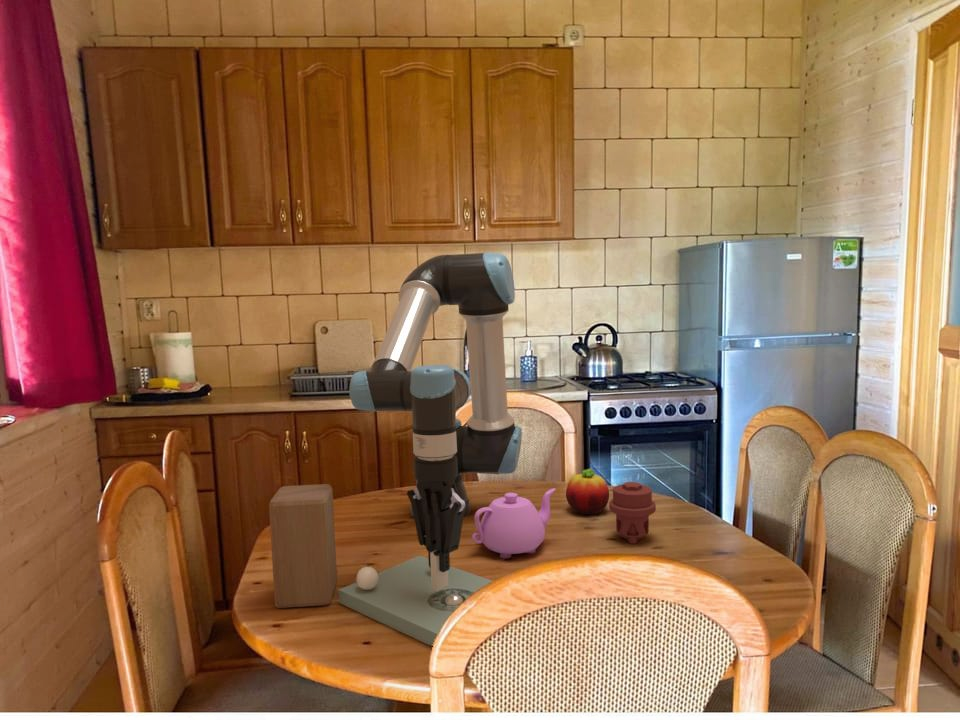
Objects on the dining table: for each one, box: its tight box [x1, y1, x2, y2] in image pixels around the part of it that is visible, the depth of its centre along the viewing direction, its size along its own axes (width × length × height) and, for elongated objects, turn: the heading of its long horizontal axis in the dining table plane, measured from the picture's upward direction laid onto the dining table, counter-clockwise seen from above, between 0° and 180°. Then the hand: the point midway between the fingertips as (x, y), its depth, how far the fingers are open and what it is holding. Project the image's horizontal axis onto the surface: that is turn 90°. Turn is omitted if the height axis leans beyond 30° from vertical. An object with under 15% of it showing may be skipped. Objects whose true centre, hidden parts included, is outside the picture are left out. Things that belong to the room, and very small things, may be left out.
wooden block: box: [268, 483, 338, 609], centre depth 124 cm, size 10×10×20 cm
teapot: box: [471, 487, 557, 559], centre depth 145 cm, size 20×14×12 cm
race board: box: [338, 555, 493, 647], centre depth 120 cm, size 26×20×2 cm
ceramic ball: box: [355, 566, 379, 590], centre depth 121 cm, size 4×4×4 cm
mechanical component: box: [608, 481, 657, 545], centre depth 148 cm, size 12×10×10 cm
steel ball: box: [444, 594, 464, 606], centre depth 116 cm, size 4×4×4 cm
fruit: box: [565, 468, 610, 515], centre depth 168 cm, size 11×11×10 cm
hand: (439, 587), depth 118 cm, fingers closed
